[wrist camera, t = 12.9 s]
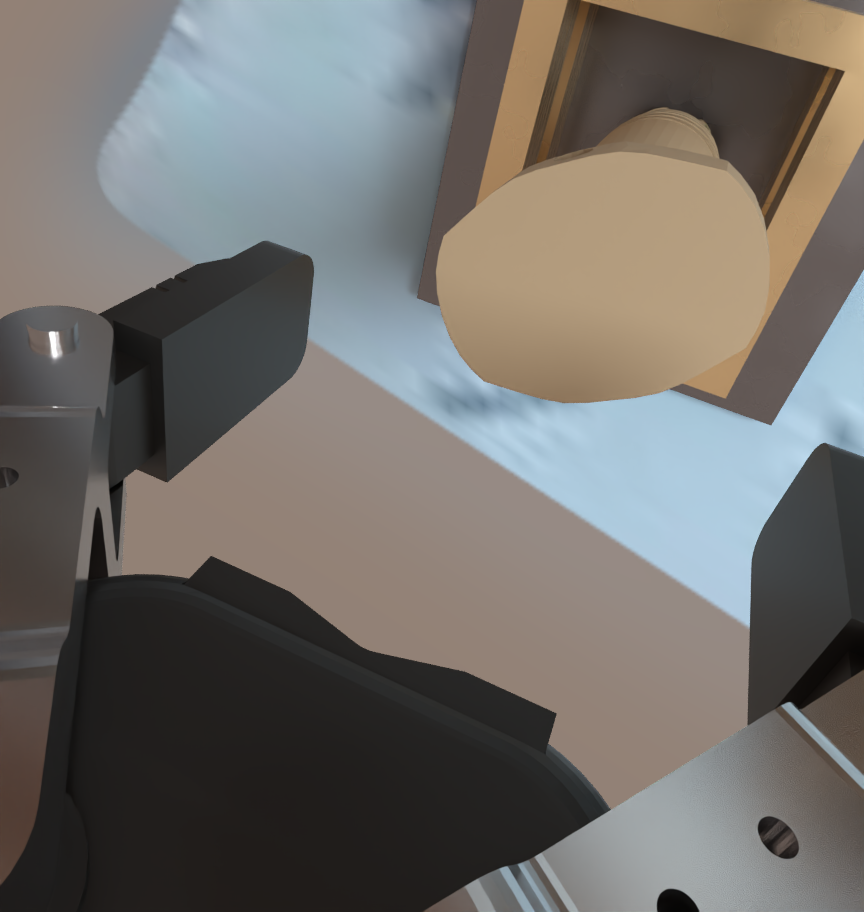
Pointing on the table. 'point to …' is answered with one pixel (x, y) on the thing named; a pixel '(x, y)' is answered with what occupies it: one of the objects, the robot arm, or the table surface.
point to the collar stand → (705, 97)
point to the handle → (609, 267)
